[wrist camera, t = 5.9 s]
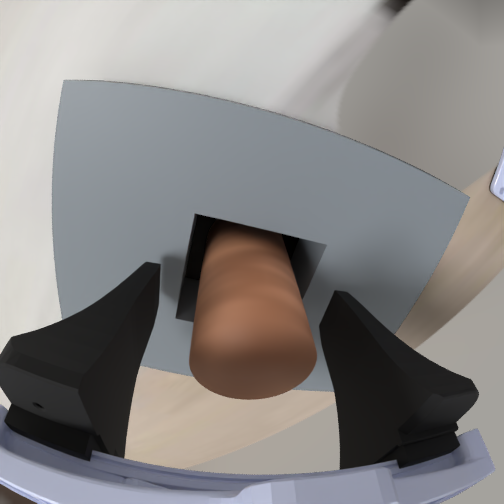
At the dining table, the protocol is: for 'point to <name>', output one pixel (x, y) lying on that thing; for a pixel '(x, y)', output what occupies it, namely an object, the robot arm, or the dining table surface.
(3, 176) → the dining table surface
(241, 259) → the peg
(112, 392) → the robot arm
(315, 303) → the socket board
